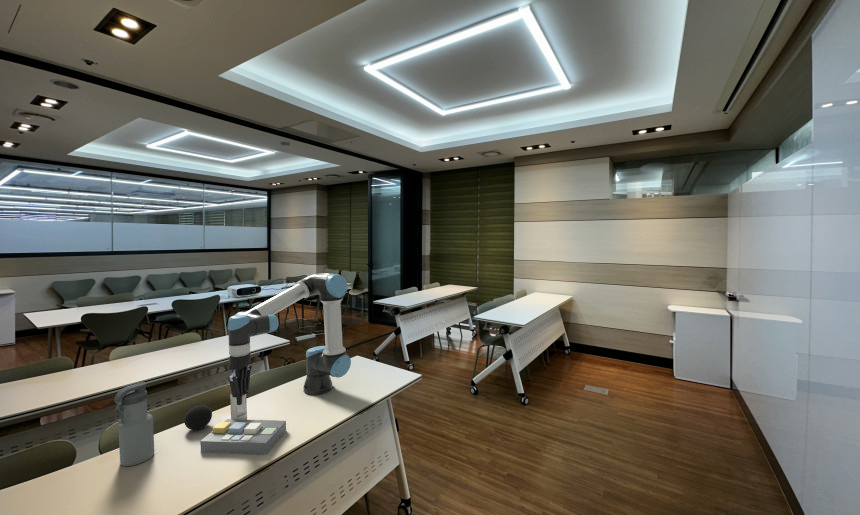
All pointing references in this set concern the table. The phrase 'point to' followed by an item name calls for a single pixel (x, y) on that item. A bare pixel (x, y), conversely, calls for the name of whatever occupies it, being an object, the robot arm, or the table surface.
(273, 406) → the table surface
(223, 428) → the key mustard
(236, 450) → the keypad
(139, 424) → the water bottle
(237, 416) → the beer can
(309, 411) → the table surface
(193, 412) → the speaker
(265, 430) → the key sage
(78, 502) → the table surface
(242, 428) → the key slate
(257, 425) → the key ivory
